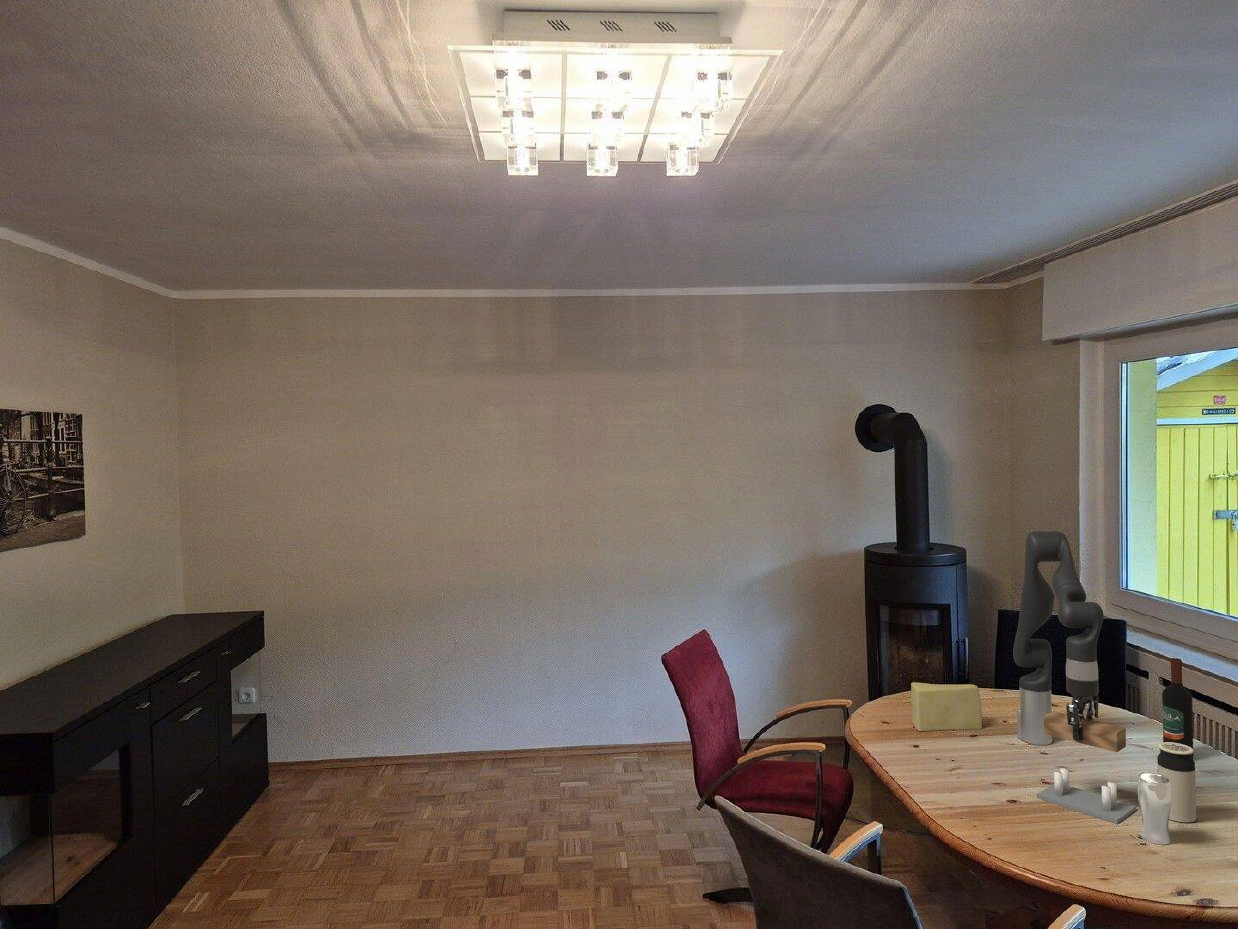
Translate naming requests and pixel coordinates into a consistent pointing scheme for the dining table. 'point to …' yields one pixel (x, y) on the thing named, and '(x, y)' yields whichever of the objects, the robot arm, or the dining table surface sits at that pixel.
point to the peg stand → (1086, 799)
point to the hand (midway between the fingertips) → (1083, 737)
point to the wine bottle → (1177, 709)
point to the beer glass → (1155, 807)
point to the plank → (1087, 732)
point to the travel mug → (1179, 779)
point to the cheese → (945, 707)
